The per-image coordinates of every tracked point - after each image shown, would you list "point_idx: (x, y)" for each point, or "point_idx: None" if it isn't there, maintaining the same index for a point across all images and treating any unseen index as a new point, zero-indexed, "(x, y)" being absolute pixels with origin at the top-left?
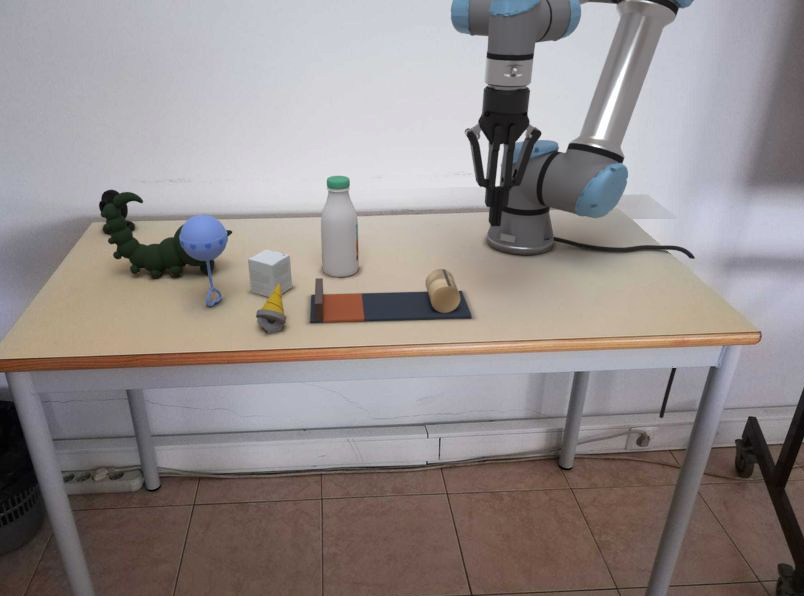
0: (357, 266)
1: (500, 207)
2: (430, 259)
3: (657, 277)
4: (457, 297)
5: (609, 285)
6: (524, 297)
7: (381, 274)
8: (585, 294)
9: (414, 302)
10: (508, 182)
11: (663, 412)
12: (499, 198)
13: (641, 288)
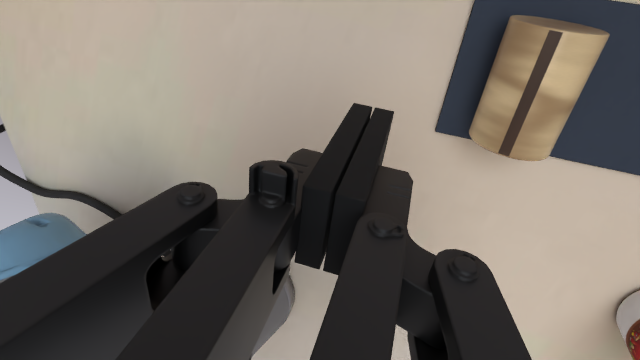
0: (636, 303)
1: (341, 140)
2: None
3: (37, 86)
4: (521, 19)
5: (121, 77)
6: (301, 69)
7: (575, 265)
8: (172, 50)
9: (595, 102)
10: (253, 214)
11: None
12: (340, 165)
13: (67, 48)
